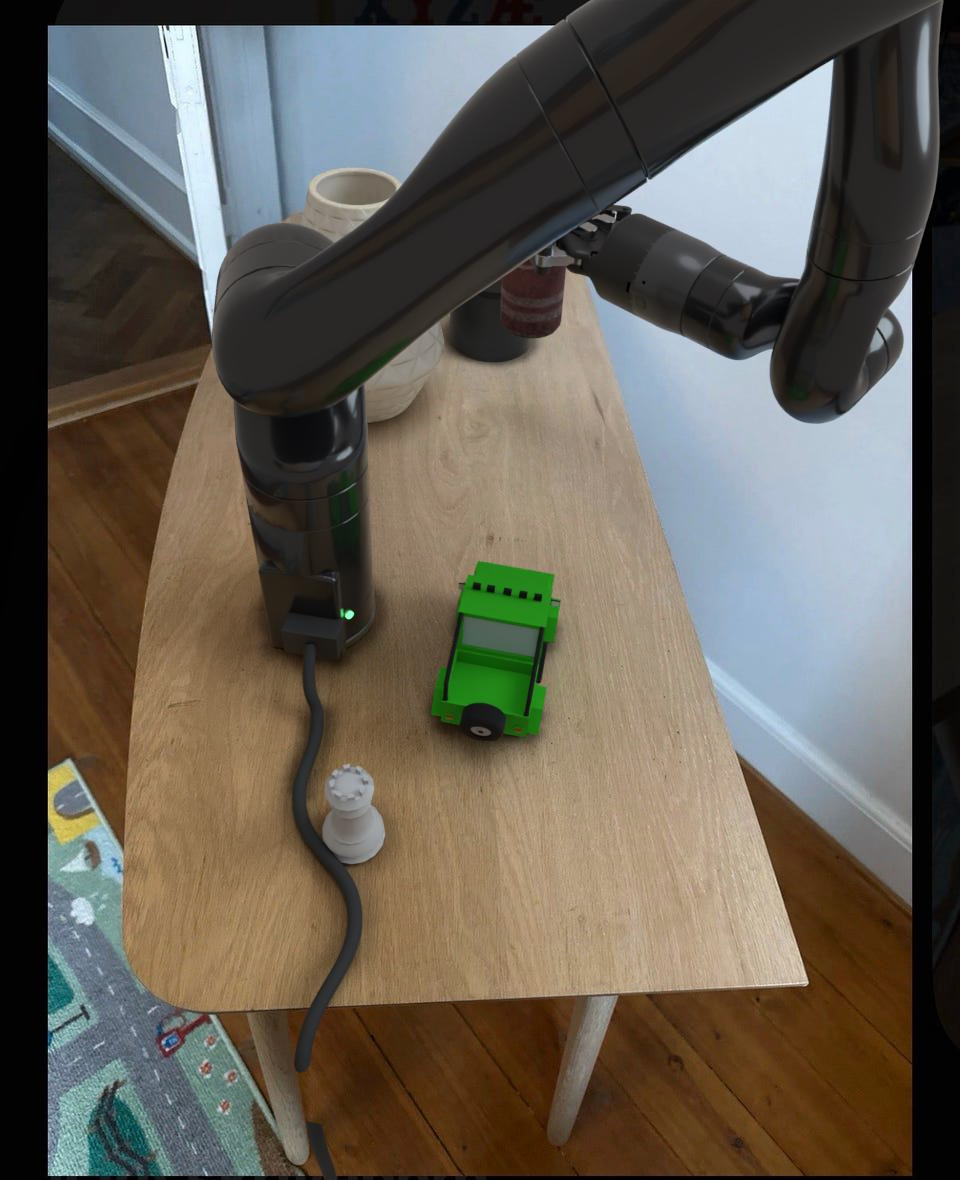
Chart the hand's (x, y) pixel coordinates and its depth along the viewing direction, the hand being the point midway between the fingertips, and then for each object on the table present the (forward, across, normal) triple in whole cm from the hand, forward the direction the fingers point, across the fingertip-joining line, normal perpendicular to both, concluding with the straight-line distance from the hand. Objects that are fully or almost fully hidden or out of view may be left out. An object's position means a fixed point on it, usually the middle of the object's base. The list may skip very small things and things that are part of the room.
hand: (512, 205), depth 82 cm
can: (-4, 0, +11) cm, 12 cm away
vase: (+11, +10, +23) cm, 27 cm away
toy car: (-26, +27, +23) cm, 44 cm away
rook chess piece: (-29, +45, +23) cm, 58 cm away
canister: (+10, -9, +23) cm, 26 cm away
